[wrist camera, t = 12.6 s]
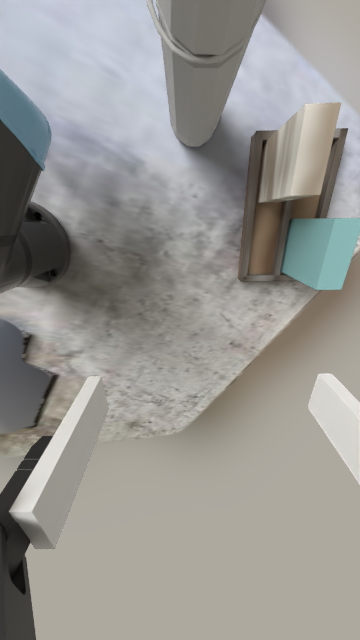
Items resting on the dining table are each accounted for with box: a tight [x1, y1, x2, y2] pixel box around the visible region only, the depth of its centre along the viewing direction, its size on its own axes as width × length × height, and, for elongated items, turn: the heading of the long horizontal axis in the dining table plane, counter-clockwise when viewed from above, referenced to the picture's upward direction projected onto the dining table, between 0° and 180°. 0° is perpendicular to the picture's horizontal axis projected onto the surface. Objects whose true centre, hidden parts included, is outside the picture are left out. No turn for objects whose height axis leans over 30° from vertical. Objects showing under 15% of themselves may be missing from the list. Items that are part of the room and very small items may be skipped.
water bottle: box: [147, 0, 266, 147], centre depth 20 cm, size 9×8×25 cm
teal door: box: [280, 218, 360, 290], centre depth 33 cm, size 4×9×12 cm, turn 1°
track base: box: [238, 103, 348, 281], centre depth 31 cm, size 13×22×13 cm, turn 1°
